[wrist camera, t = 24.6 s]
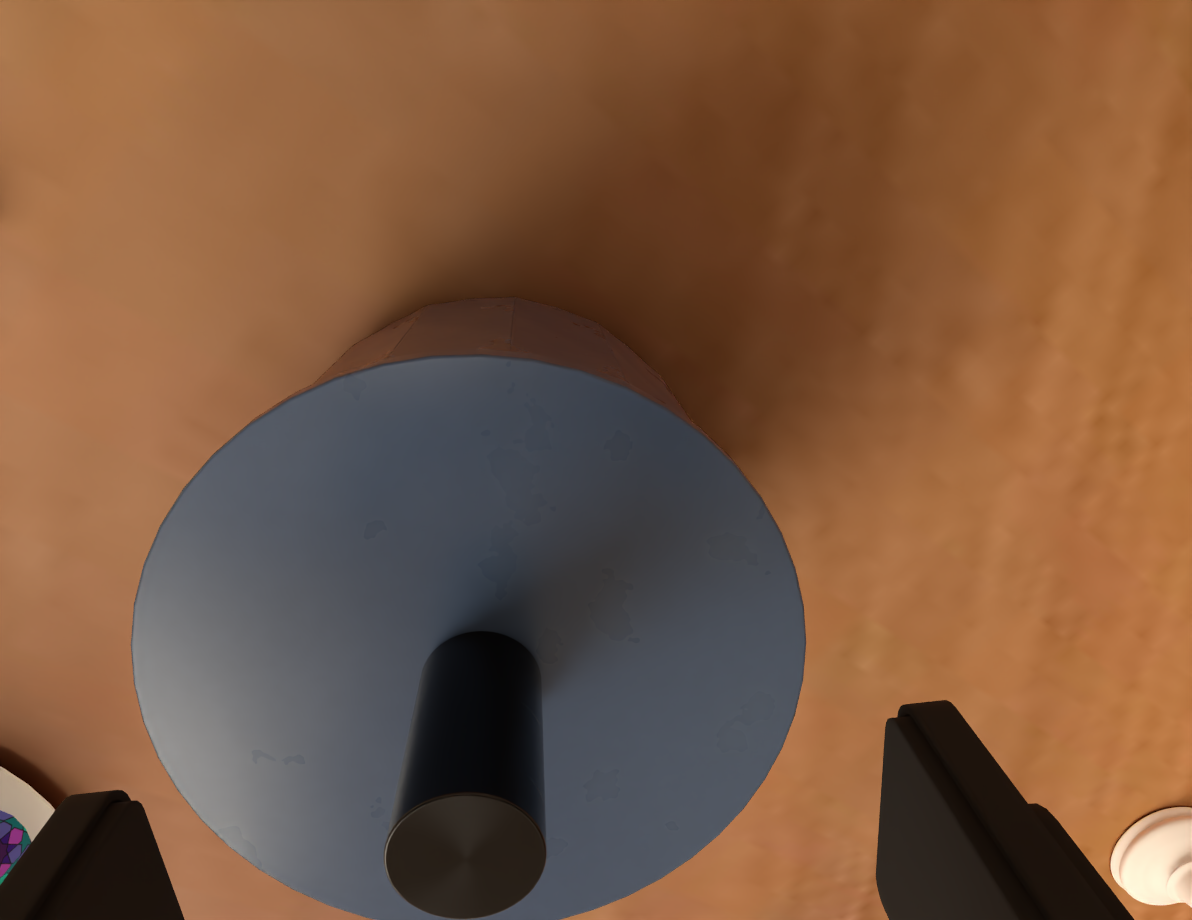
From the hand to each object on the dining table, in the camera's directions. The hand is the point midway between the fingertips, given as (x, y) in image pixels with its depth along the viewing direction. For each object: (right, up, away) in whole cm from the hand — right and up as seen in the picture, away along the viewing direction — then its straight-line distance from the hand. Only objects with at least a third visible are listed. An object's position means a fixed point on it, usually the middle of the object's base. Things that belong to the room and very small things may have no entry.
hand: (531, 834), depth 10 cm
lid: (-2, 0, +8) cm, 8 cm away
